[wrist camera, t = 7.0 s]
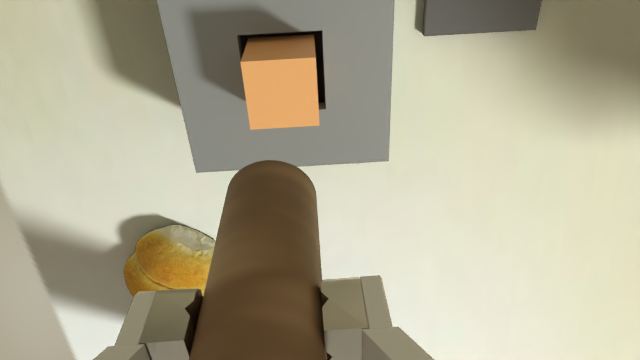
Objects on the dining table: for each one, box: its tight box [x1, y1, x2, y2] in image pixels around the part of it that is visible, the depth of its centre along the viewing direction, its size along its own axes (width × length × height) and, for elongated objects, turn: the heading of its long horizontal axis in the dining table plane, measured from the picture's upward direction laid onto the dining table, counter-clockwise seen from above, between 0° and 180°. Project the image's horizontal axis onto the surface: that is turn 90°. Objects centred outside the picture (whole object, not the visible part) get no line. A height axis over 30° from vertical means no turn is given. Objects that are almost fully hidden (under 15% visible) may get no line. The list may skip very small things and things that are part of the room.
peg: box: [189, 160, 327, 360], centre depth 11 cm, size 3×3×10 cm
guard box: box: [157, 0, 394, 173], centre depth 28 cm, size 12×12×7 cm
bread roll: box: [124, 225, 216, 296], centre depth 41 cm, size 8×9×4 cm
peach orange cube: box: [241, 34, 320, 130], centre depth 25 cm, size 4×4×4 cm
